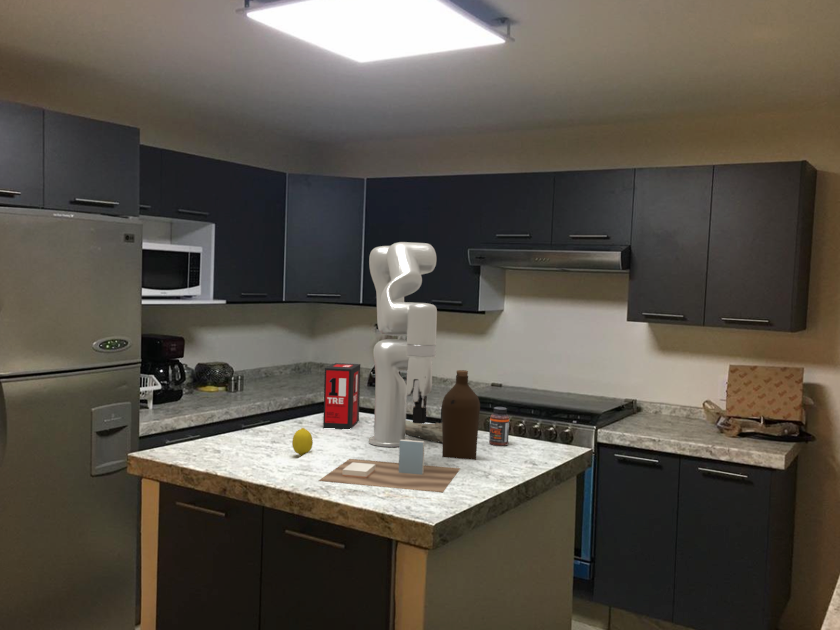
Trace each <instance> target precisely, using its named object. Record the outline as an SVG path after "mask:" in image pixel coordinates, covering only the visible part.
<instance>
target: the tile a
mask: <svg viewBox="0 0 840 630" xmlns="http://www.w3.org/2000/svg"><path fill="white" fill-rule="evenodd" d="M375 467H376V464H366V463H355V462H352V463H351V464H350V465H348V466H347V467H346V468H344V469H343V476H347V477H358V478H367V477H368V476H370V475H371V474H372V473H373V472H374V471H375Z"/></svg>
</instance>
